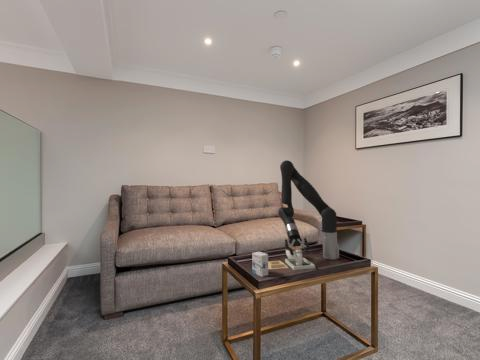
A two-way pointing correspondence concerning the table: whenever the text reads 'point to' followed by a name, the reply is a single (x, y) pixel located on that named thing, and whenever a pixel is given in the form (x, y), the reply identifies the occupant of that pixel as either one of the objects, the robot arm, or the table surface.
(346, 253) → the table surface
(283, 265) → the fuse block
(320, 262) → the table surface
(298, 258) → the fuse
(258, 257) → the ink box
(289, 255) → the lidded jar
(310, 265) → the parts tray
